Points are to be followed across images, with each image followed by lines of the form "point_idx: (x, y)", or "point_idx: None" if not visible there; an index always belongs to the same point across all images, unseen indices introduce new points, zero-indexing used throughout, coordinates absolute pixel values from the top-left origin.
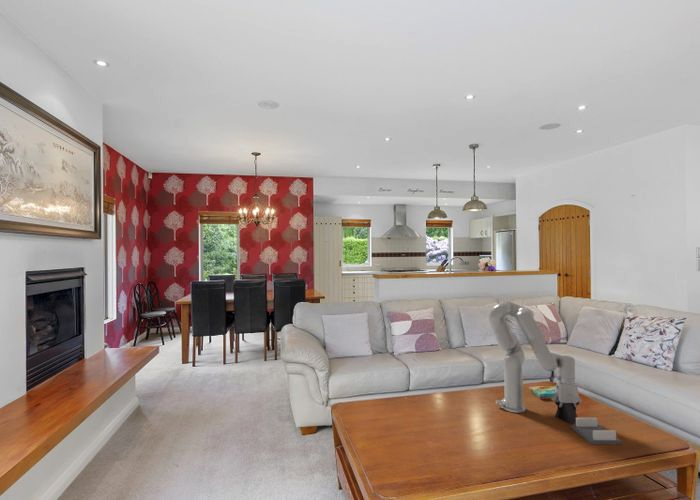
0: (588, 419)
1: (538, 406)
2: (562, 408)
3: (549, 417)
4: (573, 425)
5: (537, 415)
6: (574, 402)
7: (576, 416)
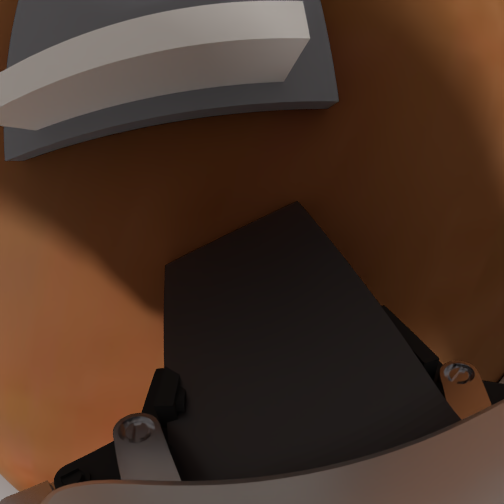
0: (91, 39)
1: None
2: None
3: None
4: (315, 80)
5: (472, 348)
6: (171, 490)
7: (173, 301)
